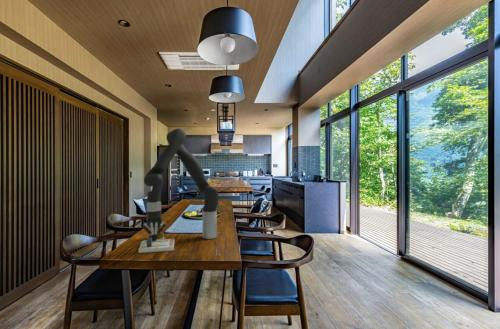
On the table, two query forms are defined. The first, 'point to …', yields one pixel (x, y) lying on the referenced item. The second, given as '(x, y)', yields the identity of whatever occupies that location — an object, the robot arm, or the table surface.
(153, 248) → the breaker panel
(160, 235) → the condiment
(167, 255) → the table surface
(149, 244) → the block
